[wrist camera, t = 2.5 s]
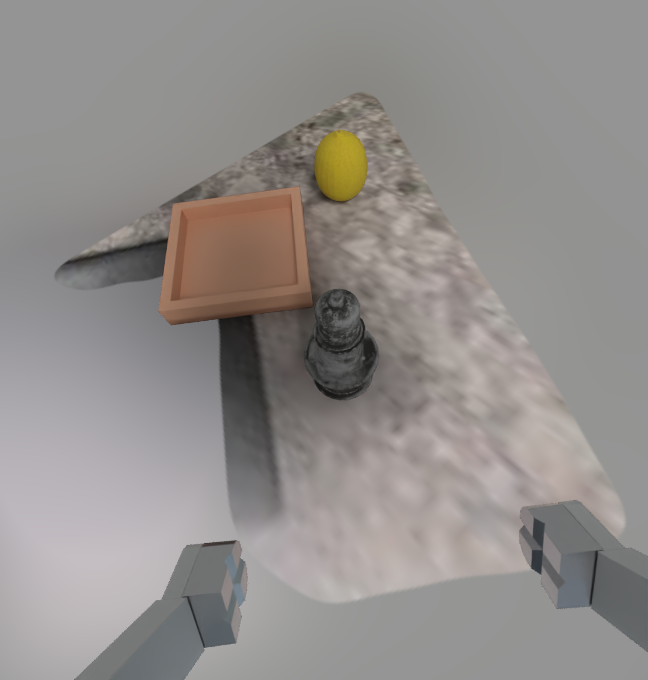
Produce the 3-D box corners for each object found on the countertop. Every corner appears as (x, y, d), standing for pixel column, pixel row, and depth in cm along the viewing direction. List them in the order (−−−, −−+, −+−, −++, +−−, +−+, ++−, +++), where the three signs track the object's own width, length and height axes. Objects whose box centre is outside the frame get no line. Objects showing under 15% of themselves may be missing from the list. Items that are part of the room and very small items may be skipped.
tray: (170, 325, 35) (158, 311, 33) (182, 220, 41) (173, 203, 39) (313, 306, 35) (310, 291, 32) (302, 204, 41) (299, 186, 39)
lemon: (309, 194, 42) (300, 127, 35) (350, 176, 43) (349, 106, 35) (332, 224, 39) (327, 158, 32) (375, 204, 40) (380, 135, 33)
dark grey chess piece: (296, 367, 32) (265, 289, 21) (346, 329, 33) (341, 237, 22) (338, 417, 29) (328, 357, 19) (390, 374, 31) (409, 295, 20)
